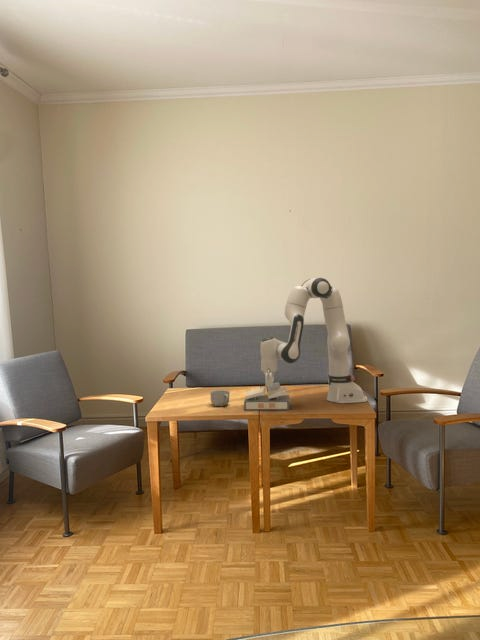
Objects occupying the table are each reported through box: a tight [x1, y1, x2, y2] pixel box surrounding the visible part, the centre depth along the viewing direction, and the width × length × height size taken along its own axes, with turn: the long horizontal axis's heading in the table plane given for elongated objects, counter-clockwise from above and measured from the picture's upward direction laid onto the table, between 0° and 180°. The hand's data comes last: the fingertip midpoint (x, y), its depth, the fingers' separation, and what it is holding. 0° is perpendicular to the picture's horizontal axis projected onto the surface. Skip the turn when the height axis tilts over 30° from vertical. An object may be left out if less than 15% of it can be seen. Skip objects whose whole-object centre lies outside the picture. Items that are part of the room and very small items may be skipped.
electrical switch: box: [266, 381, 282, 393], centre depth 320 cm, size 9×5×9 cm, turn 141°
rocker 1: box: [245, 386, 266, 399], centre depth 301 cm, size 10×11×2 cm
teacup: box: [209, 389, 230, 407], centre depth 307 cm, size 14×11×8 cm
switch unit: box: [243, 394, 291, 412], centre depth 300 cm, size 24×14×7 cm, turn 84°
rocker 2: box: [267, 386, 288, 399], centre depth 299 cm, size 10×11×2 cm
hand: (270, 392), depth 300 cm, fingers open, 8 cm apart
